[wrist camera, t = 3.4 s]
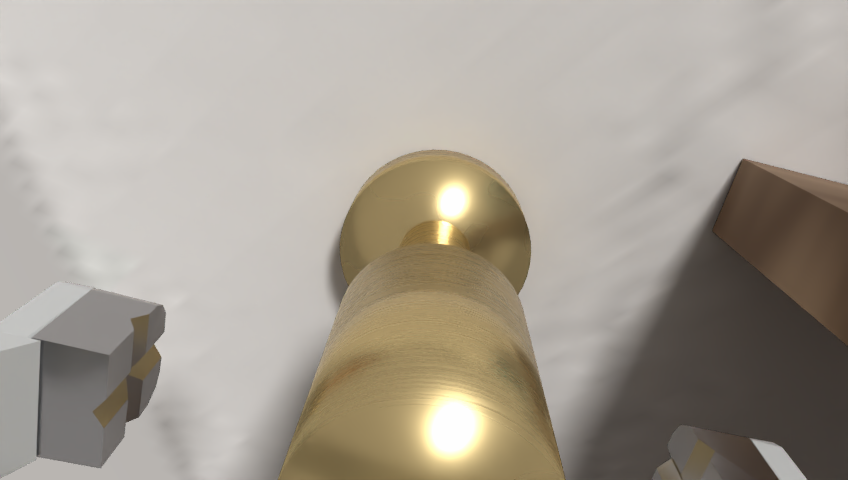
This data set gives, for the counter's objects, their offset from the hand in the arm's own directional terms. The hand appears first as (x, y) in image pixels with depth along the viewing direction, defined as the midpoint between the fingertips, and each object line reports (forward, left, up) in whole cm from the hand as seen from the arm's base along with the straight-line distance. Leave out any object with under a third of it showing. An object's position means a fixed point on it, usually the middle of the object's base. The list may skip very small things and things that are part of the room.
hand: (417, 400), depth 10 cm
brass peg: (0, 0, -8) cm, 8 cm away
